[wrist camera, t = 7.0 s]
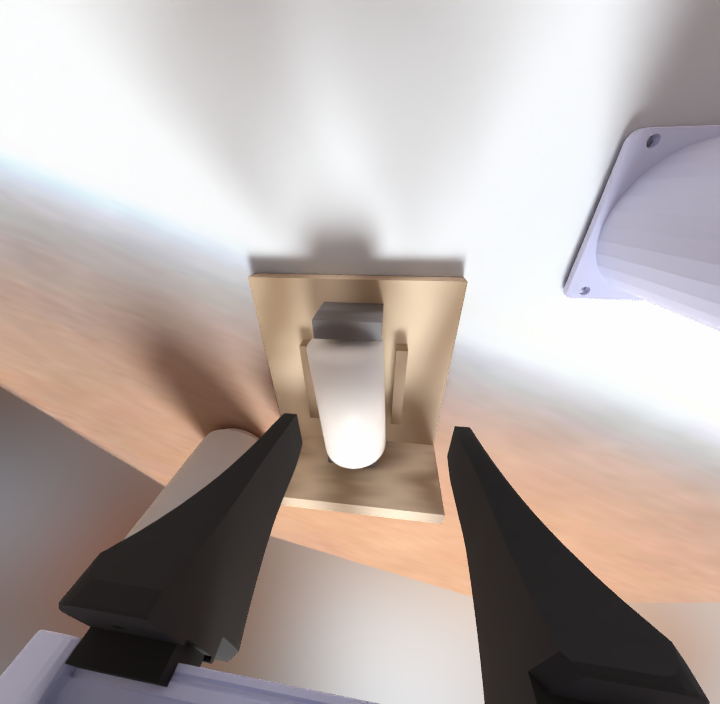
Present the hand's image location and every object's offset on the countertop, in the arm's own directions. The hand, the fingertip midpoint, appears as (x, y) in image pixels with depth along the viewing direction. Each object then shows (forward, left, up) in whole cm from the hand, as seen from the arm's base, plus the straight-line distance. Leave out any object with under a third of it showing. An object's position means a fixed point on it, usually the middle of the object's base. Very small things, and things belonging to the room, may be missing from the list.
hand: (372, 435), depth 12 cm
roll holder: (+2, +3, -9) cm, 10 cm away
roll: (+2, +3, -8) cm, 9 cm away
